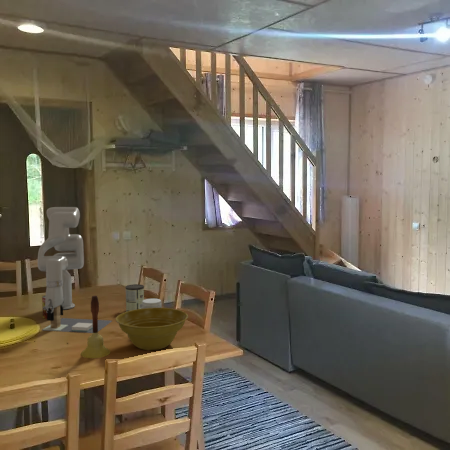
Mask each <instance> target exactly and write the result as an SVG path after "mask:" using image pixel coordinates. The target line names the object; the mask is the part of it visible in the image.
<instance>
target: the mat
mask: <svg viewBox="0 0 450 450" xmlns="http://www.w3.org/2000/svg"><path fill="white" fill-rule="evenodd" d="M60 318H61V325H68V326H67V327H66V328H64V329H62V330H61V331H60V332H63V333H78V334H79V333H81V334H82V333H83V334H85V333H86V334H92V333H93V328H92V329H90V330H89V331H88V332H87V331H72V326H74V325H75V324H77V323H93V319H92V318H91V319H87V318H86V319H85V318H67V317H65V318H64V317H60ZM112 322H113V320H109V319H108V320H107V319H106V320H105V319H98V332H100V331H101V330H102V329H104V328H105V327H106V326H108V325H109V324H111V323H112ZM42 331H47V332H52V331H51V330H43V329H42Z"/></svg>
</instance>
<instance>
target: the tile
mask: <svg viewBox="0 0 450 450" xmlns="http://www.w3.org/2000/svg"><path fill="white" fill-rule="evenodd" d="M92 328H93V323H77V324H75V325H74V326H72V331H87V332H88V331H89V330H90V329H92Z"/></svg>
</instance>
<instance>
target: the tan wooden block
mask: <svg viewBox="0 0 450 450" xmlns="http://www.w3.org/2000/svg"><path fill="white" fill-rule="evenodd" d="M50 309H52V308H50ZM53 312H54V320H53V321H50V325H51V328H59V327H60V326H61V318H62V317H61V315H60V305H59V306H57V307H56V308H54V310H53Z"/></svg>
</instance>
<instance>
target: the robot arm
mask: <svg viewBox="0 0 450 450" xmlns="http://www.w3.org/2000/svg"><path fill="white" fill-rule="evenodd" d="M46 216H47V219H48V221H49V222H48V236H47V237H48V238H47V239H46V240H45V241H43V242H42V244H41V245H40V246H39V249H38V253H37V268H38V270H39V271H41V272H45V277H46V278H45V279H46V280H45V281H46V283H45V284H46V290H45V295H46V298H45V307H46V312H47V319H46V321H50V322H51V321H53V320H54V312H53V310H54V308H56V307H57V306H59V305H60V316H63V315H64V310H70V309H73V308H75V306H76V305H75V303H73V296H72V295H73V290H72V285H73V284H72V276H71V275H72V274H70V273H69V271H68V270H79V269H82V268H83V267H84V265H85V254H84V251H85V250H84V240H83V237H82V236H81V235H80V234H78V233H77V234H76V233H74V234H70V228H72V229H74V228H77V227H78V225H79V222H80V218H81V213H80V210H79V208H78V207H77V206H54V207H49V208H47V210H46ZM52 248H54V249H55V251H58V253H54V254H53V255H45V253H46V252H47V251H48V250H50V249H52ZM50 308H52V309H50Z"/></svg>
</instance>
